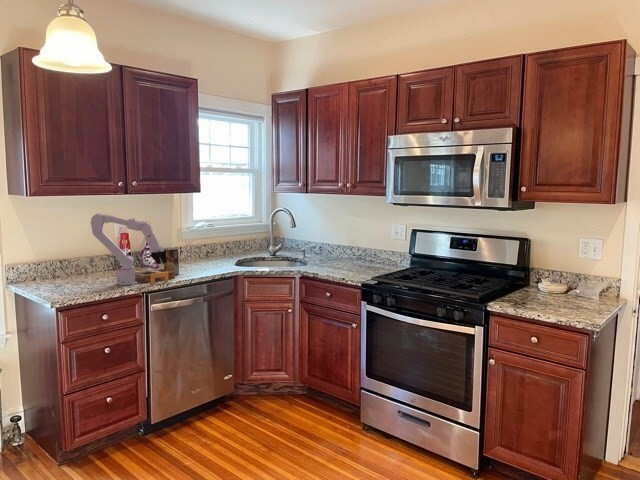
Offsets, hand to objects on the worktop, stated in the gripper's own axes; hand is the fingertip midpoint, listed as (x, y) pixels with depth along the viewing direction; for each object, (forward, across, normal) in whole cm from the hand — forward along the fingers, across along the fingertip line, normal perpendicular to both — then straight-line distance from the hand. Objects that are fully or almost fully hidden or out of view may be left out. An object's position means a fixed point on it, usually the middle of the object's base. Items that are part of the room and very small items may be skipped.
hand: (162, 263), depth 276 cm
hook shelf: (+8, +13, +3) cm, 16 cm away
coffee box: (+13, +21, -12) cm, 27 cm away
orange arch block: (+10, 0, +6) cm, 11 cm away
